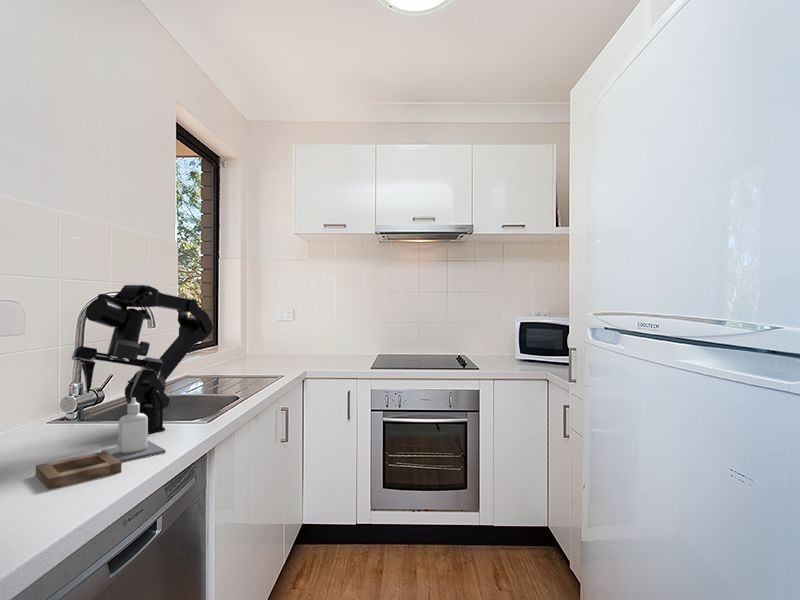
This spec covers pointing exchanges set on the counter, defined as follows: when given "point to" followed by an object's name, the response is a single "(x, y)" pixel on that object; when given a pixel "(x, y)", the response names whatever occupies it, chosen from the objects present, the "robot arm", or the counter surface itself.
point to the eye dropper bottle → (133, 430)
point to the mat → (149, 451)
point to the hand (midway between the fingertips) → (110, 395)
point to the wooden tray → (77, 469)
